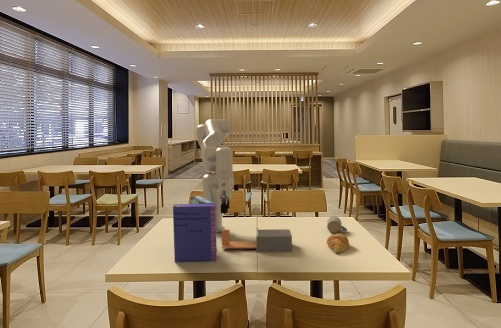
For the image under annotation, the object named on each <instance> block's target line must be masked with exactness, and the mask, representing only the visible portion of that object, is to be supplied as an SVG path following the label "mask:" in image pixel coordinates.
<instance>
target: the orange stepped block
mask: <svg viewBox="0 0 501 328" xmlns="http://www.w3.org/2000/svg"><path fill="white" fill-rule="evenodd" d="M230 230H231V229H230V228H229V229H228V228H225V229H222V232H221V245H222V246H221V249H257V240H255V241H231V235H230V232H231V231H230Z"/></svg>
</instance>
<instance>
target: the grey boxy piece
mask: <svg viewBox="0 0 501 328" xmlns="http://www.w3.org/2000/svg"><path fill="white" fill-rule="evenodd" d="M256 241H257V248H256V253H259V252H260V253H261V252H264V253H265V252H267V253H269V252H271V253H272V252H276V253H277V252H281V253H282V252H293V236H292V233H291V230H290V229H287V228H286V229H284V228H283V229H281V228H279V229H275V228H274V229H270V228H269V229H259V227H256Z"/></svg>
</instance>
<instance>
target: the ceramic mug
mask: <svg viewBox="0 0 501 328" xmlns="http://www.w3.org/2000/svg"><path fill="white" fill-rule="evenodd" d="M326 228H327V230H328V231H329V232H330V233H331V234H336V233H342V234H346V233H347V231H348V229H347V228H346V227H345V226H344V225H342V220H341V219H340V218H339V217H338V216H335V215H334V216H330V217H328V219H327V222H326Z"/></svg>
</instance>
